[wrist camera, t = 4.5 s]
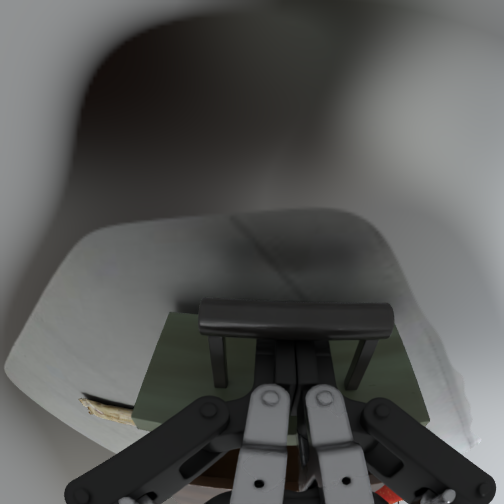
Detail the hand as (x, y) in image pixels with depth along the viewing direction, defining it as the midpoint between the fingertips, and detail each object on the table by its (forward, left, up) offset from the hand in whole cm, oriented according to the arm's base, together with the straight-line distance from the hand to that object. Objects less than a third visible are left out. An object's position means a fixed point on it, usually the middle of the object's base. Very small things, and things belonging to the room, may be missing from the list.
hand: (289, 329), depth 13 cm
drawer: (+6, 0, -3) cm, 7 cm away
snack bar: (+18, -15, -4) cm, 24 cm away
